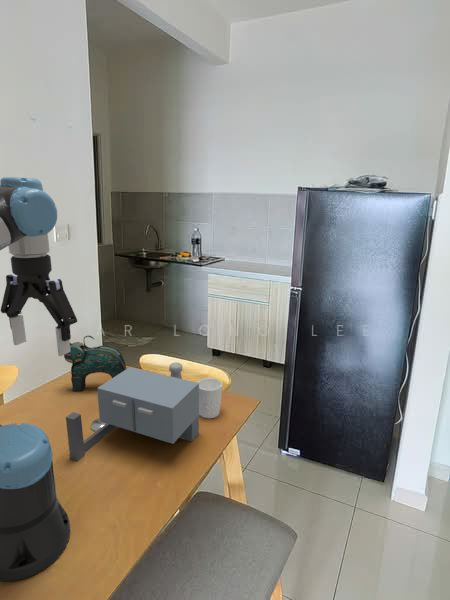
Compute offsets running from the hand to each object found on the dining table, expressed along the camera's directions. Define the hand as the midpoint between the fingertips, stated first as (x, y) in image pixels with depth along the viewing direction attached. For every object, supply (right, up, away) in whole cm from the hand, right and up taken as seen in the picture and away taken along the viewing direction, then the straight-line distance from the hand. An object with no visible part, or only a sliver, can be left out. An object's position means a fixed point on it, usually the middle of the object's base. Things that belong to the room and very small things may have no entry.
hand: (41, 348), depth 85 cm
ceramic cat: (-3, -20, +46) cm, 50 cm away
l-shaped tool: (+6, -28, +19) cm, 34 cm away
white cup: (+36, -25, +33) cm, 55 cm away
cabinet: (+21, -28, +21) cm, 40 cm away
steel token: (+5, -26, +25) cm, 37 cm away
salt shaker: (+25, -23, +40) cm, 52 cm away
